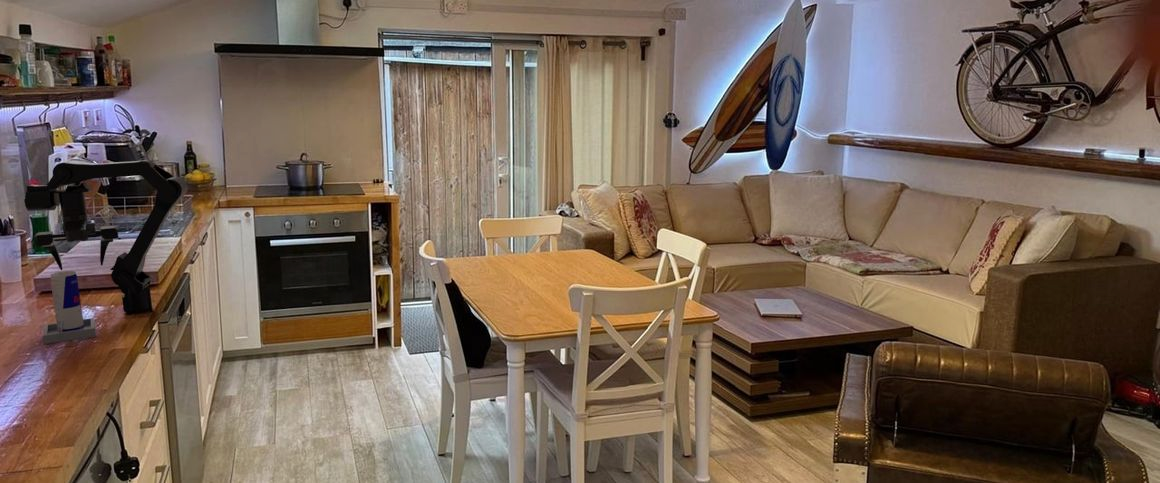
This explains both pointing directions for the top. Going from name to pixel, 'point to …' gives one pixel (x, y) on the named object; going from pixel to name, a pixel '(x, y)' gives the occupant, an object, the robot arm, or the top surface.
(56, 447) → the top surface
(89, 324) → the tray
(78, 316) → the beverage can
